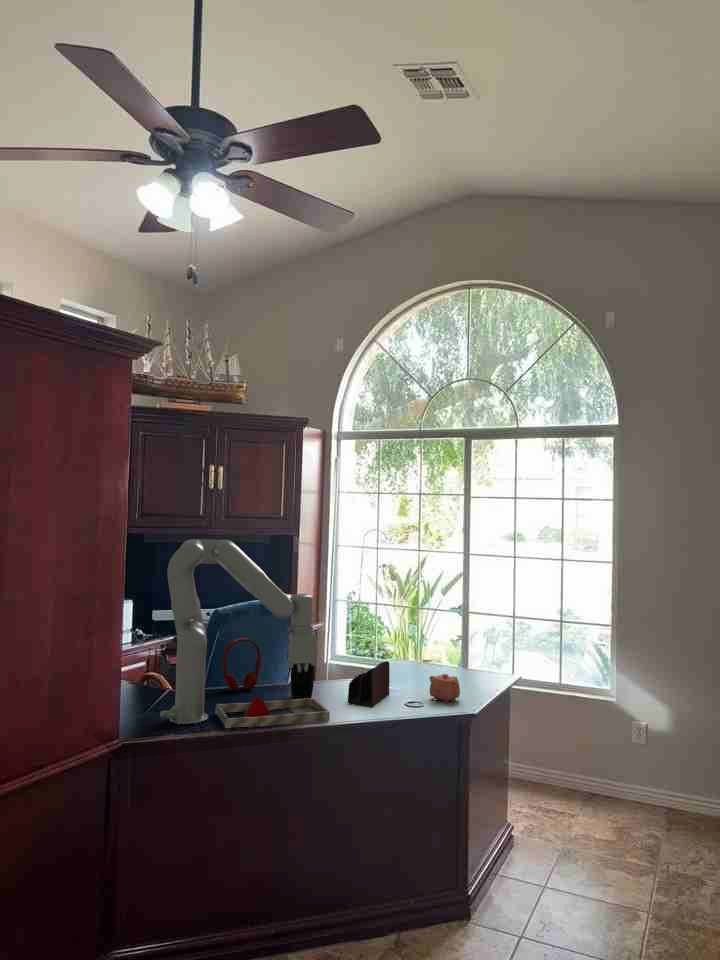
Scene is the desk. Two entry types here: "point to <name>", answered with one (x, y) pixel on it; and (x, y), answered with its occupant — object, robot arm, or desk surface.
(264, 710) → the gemstone
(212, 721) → the desk surface
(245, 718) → the shallow open box tray
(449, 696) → the teapot
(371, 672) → the letter holder
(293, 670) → the portable speaker
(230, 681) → the headphones
